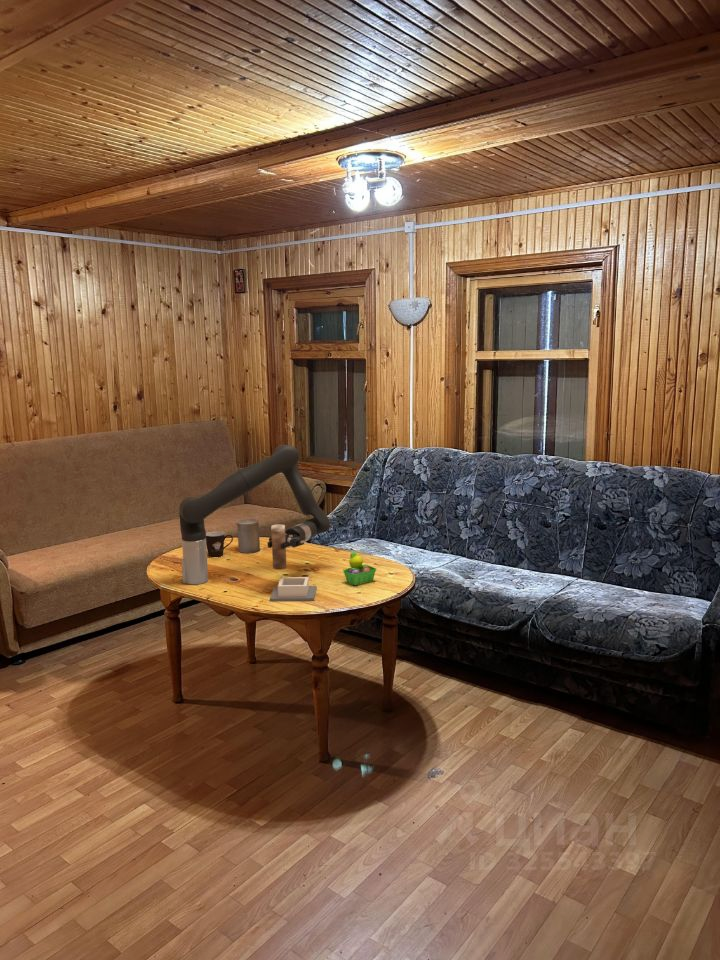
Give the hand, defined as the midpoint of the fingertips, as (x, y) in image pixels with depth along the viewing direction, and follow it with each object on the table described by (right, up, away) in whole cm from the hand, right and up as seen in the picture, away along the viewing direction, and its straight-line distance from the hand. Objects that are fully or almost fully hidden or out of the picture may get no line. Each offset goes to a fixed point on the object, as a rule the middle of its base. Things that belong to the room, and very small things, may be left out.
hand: (275, 545), depth 270 cm
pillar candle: (-19, -8, +61) cm, 64 cm away
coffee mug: (-31, -9, +53) cm, 62 cm away
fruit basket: (+31, -15, +15) cm, 38 cm away
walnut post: (+1, -8, +4) cm, 9 cm away
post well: (+7, -18, +1) cm, 19 cm away
